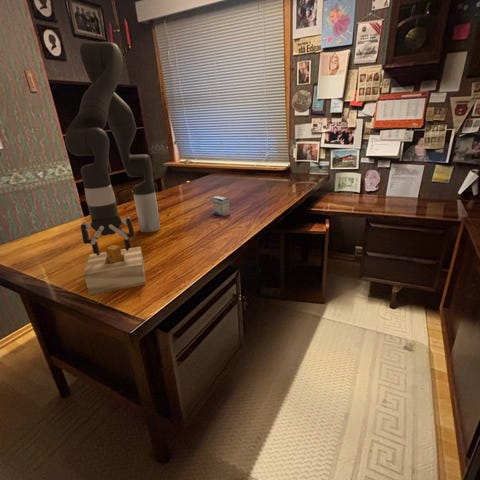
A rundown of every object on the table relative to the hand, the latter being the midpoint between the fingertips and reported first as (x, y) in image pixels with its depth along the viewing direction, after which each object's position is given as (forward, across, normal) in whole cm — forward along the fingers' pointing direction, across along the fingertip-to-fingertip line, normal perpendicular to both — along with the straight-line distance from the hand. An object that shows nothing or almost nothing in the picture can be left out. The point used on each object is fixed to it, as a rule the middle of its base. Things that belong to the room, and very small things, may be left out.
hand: (113, 251), depth 93 cm
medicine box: (+10, -48, -51) cm, 71 cm away
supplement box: (+9, 0, 0) cm, 9 cm away
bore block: (+10, 0, 0) cm, 10 cm away
